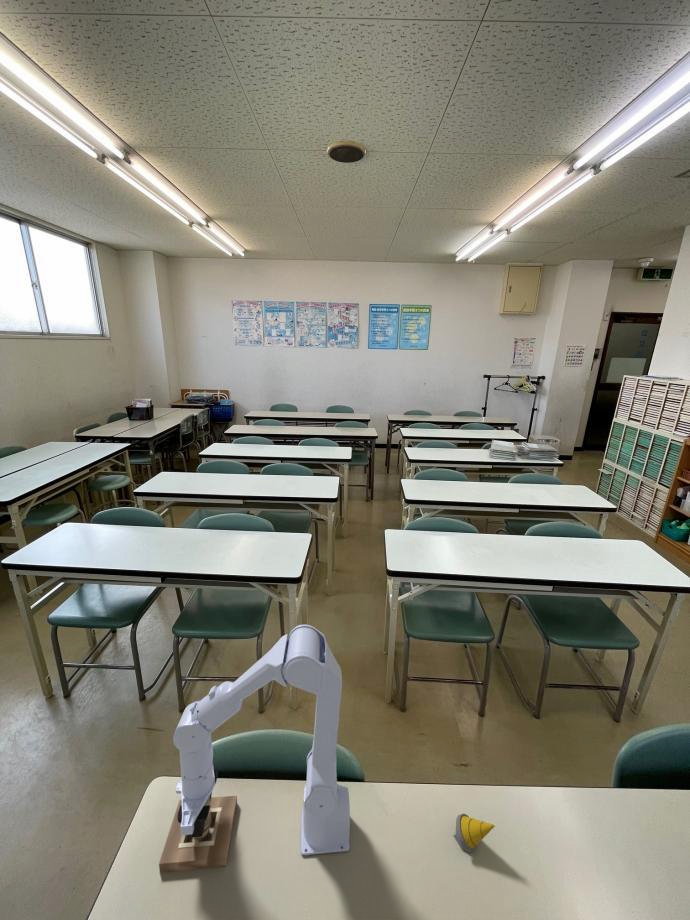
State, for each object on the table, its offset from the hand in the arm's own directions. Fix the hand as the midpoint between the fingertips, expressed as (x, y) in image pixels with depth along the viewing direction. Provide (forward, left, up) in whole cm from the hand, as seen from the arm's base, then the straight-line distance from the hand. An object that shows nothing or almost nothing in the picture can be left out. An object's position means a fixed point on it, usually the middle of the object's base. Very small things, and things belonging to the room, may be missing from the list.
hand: (200, 821), depth 75 cm
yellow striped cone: (-54, +5, -4) cm, 54 cm away
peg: (0, 0, -3) cm, 3 cm away
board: (0, 0, -3) cm, 3 cm away
